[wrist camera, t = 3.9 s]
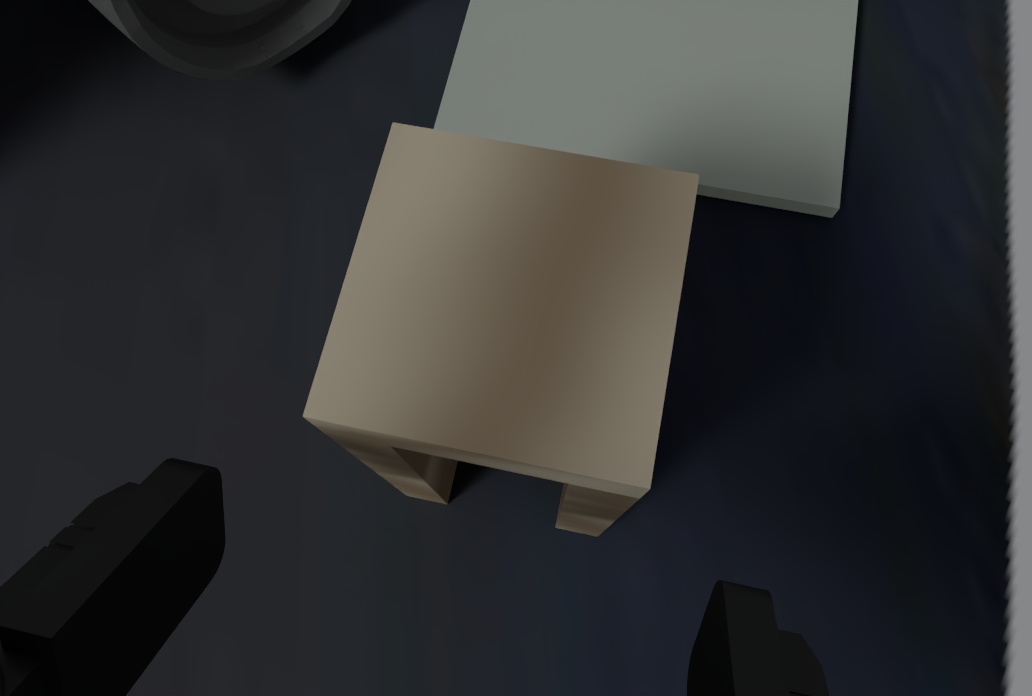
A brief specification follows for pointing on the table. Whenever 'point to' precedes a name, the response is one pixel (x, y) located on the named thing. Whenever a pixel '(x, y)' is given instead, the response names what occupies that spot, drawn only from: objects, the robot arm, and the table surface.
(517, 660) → the table surface
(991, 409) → the table surface
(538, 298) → the birch stool
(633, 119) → the sage mat
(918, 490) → the table surface
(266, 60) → the bluetooth speaker
